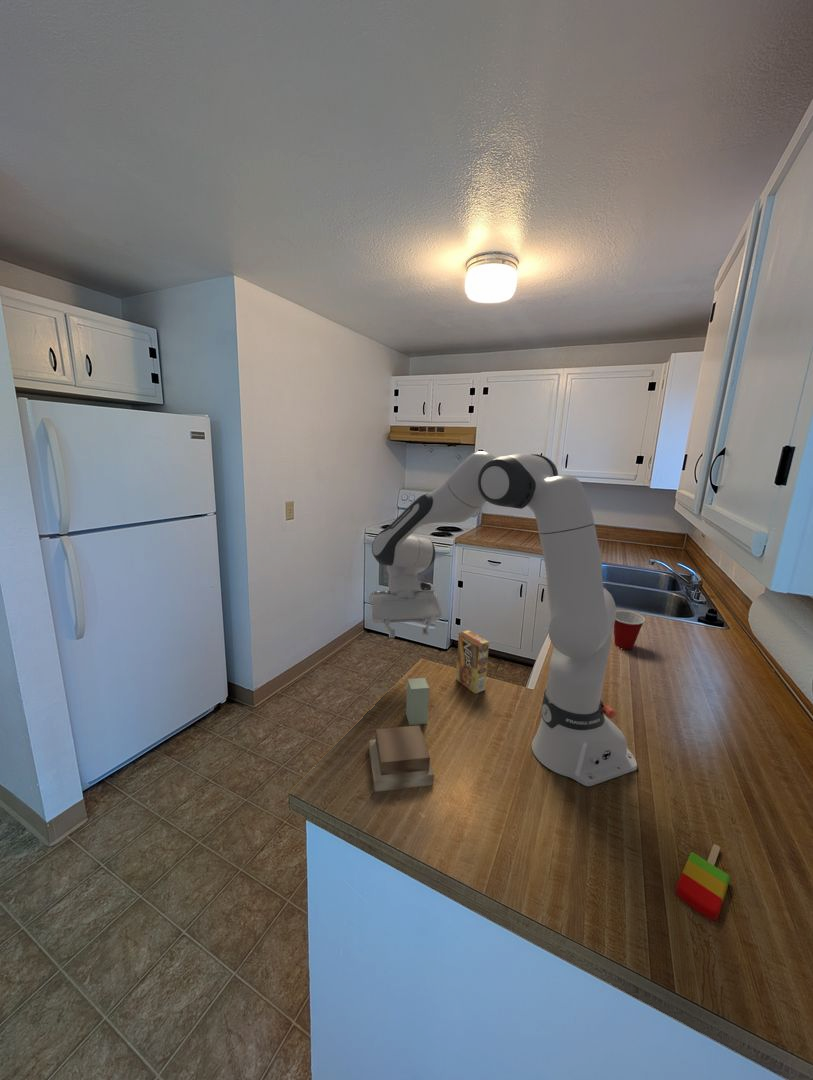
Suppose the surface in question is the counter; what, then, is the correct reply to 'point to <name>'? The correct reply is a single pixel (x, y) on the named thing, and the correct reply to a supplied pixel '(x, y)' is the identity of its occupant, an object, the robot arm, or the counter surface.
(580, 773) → the robot arm
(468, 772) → the counter surface
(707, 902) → the popsicle
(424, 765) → the tower top
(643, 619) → the plastic cup
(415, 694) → the green block
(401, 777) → the tower base
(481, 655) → the candy box
